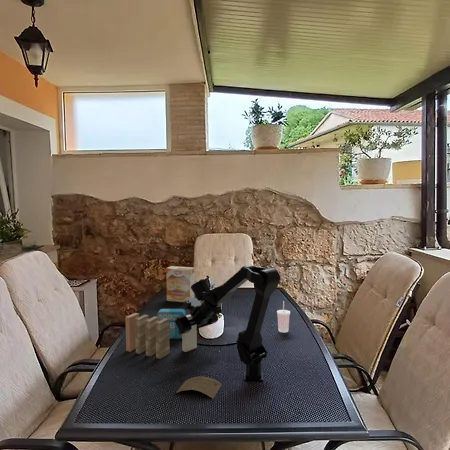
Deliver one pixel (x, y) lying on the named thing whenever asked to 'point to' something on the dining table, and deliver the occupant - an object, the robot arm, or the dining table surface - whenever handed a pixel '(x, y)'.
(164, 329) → the domino
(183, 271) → the coffeecake box
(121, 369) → the dining table surface
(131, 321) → the end domino
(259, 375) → the robot arm
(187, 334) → the domino
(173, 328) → the data package
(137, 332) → the domino
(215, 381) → the curved brown sheet
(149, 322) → the domino
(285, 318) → the beverage cup
